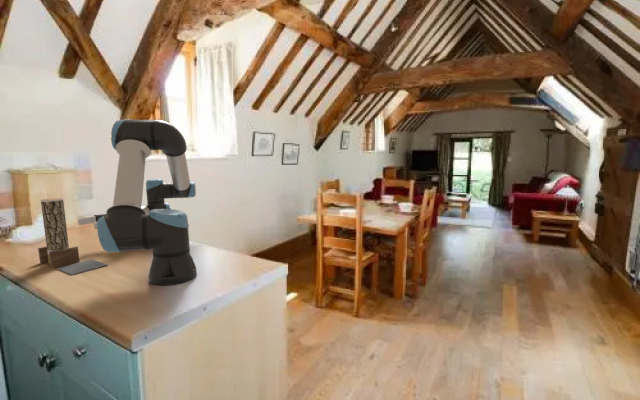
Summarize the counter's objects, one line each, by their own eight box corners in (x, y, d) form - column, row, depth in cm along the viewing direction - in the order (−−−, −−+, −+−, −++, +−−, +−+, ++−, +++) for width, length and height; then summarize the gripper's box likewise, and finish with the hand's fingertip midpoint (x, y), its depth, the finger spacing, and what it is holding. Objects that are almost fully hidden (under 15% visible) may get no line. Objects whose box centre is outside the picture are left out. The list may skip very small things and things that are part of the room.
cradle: (79, 261, 137) (77, 246, 137) (52, 268, 130) (50, 252, 129) (66, 256, 144) (64, 242, 143) (40, 263, 136) (38, 248, 135)
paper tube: (59, 265, 133) (50, 200, 129) (44, 264, 134) (35, 200, 130) (74, 260, 139) (67, 198, 136) (60, 259, 141) (53, 197, 137)
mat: (107, 265, 133) (107, 264, 133) (71, 275, 123) (71, 274, 123) (92, 260, 139) (91, 259, 139) (56, 269, 129) (56, 268, 129)
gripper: (153, 226, 155) (102, 236, 138) (123, 220, 169) (73, 228, 151) (152, 209, 154) (100, 218, 136) (121, 204, 167) (71, 211, 150)
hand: (86, 223), depth 144 cm, fingers open, 13 cm apart
